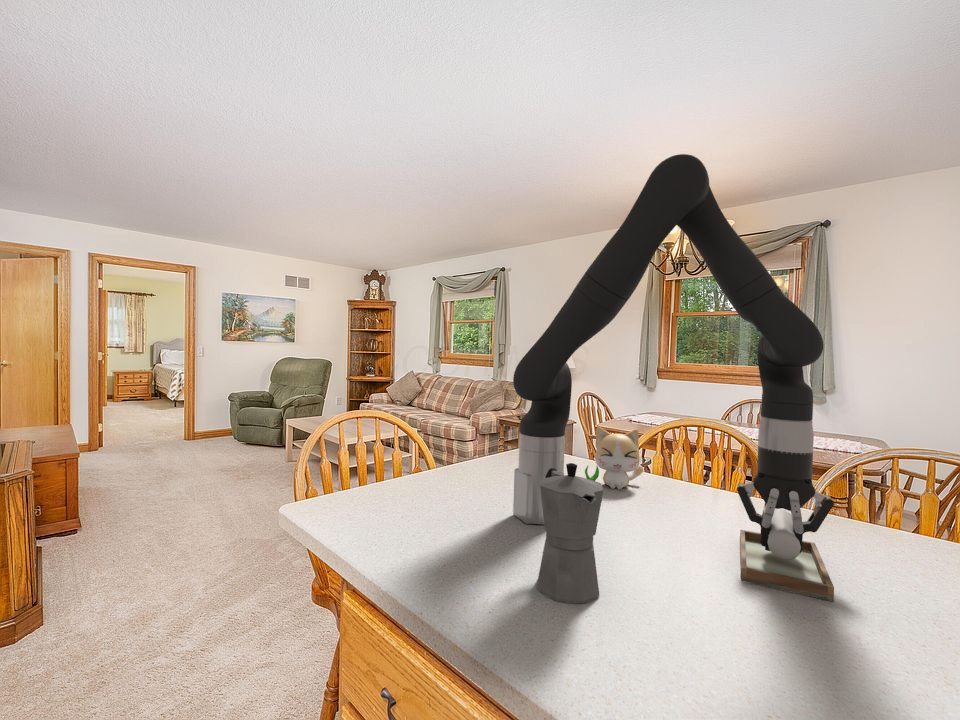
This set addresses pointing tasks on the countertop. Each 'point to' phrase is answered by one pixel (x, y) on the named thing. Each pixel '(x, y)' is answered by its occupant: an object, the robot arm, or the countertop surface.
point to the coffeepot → (569, 536)
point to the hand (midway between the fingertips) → (780, 551)
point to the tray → (784, 568)
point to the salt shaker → (783, 536)
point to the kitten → (617, 457)
